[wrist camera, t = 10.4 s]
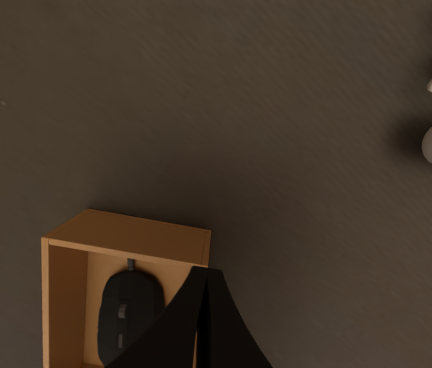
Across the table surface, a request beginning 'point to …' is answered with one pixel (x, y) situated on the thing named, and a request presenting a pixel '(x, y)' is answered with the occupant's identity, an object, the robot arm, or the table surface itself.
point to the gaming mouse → (126, 310)
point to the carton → (105, 274)
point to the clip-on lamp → (428, 136)
